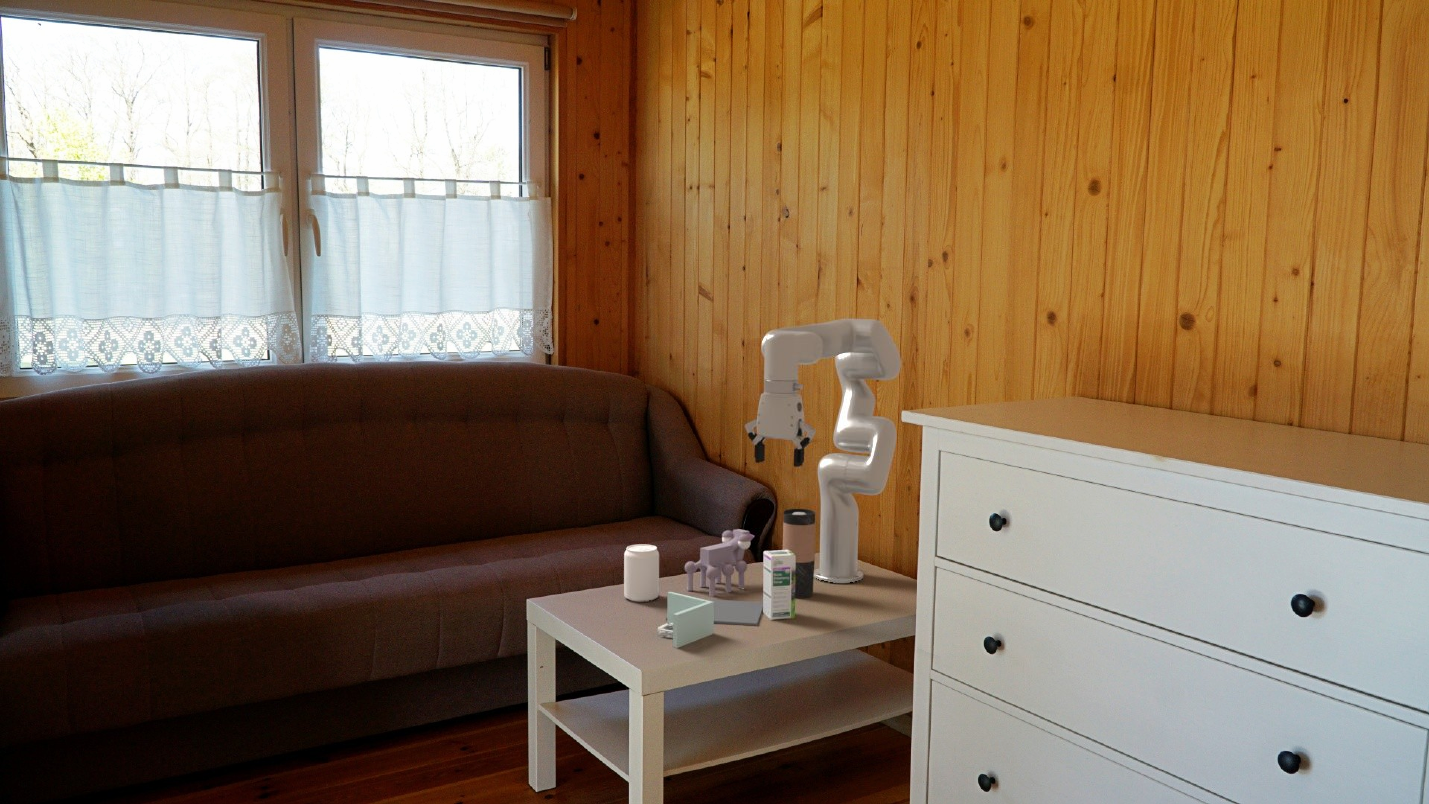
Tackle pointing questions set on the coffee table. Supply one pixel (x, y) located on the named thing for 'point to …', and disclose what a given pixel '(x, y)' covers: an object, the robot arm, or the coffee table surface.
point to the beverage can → (641, 572)
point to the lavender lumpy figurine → (721, 561)
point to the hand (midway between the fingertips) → (778, 464)
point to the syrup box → (779, 584)
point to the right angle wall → (687, 619)
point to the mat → (736, 612)
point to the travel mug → (801, 547)
